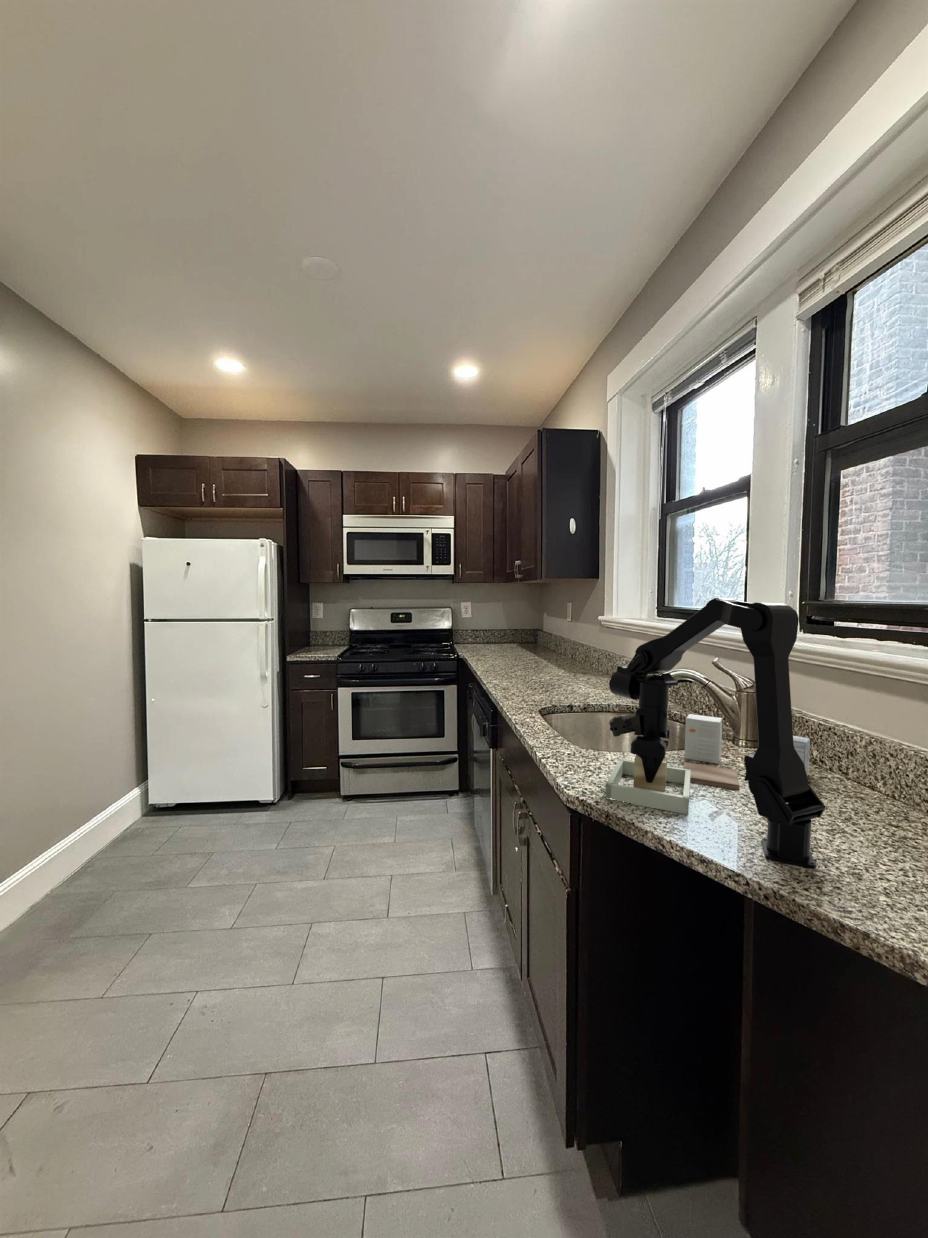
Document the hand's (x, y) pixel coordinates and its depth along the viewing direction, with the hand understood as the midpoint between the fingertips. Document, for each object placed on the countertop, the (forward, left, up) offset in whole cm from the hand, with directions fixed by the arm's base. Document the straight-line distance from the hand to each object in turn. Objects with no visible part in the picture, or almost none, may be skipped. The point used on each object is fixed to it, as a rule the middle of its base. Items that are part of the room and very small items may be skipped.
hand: (650, 778), depth 105 cm
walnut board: (+16, -11, -2) cm, 19 cm away
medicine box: (+28, -28, -3) cm, 40 cm away
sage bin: (0, 0, -2) cm, 2 cm away
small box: (+30, -10, -3) cm, 32 cm away
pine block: (0, 0, -2) cm, 2 cm away
